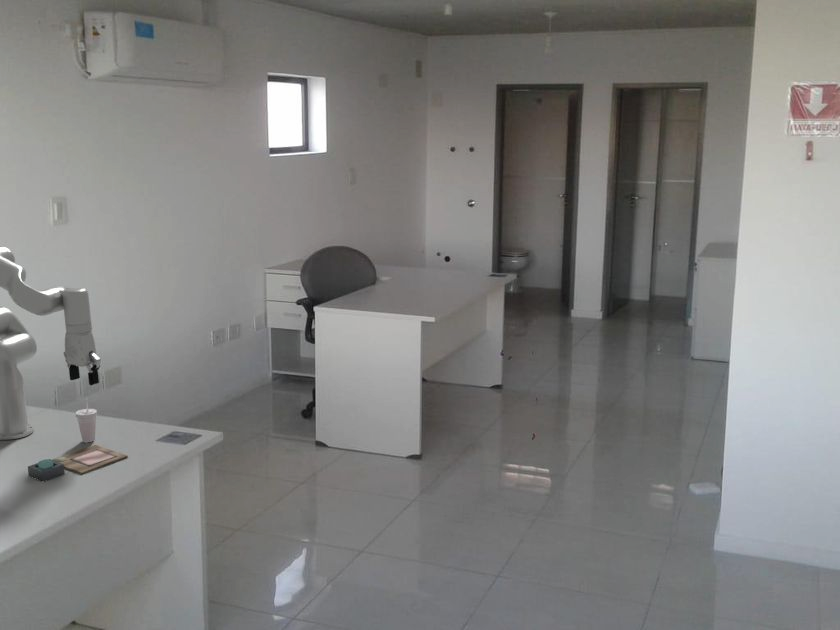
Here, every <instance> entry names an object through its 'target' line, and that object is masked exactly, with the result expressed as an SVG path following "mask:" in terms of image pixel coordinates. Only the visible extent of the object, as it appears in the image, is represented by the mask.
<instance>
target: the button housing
mask: <svg viewBox="0 0 840 630" xmlns="http://www.w3.org/2000/svg"><path fill="white" fill-rule="evenodd" d="M49 460H52V459H50V458H49ZM65 471H66V470H65V468H64V464H62V463H59V462H56V461H54V460H53V466H52V467H49V468H47V469H44V470H43V469H40V468H38V462H37V463H34V464H31V465H28V466H27V473H28V477H29V476H30V478H32V477H33V478H32V479H34V478H36V479H35V480H37V479H38V480H37V481H39V480H40V482H42V481H44V482H46V480H47V481H50V480H52V479H55V478H58V477H60V476H63V475H66V474H65V473H66V472H65Z"/></svg>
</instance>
